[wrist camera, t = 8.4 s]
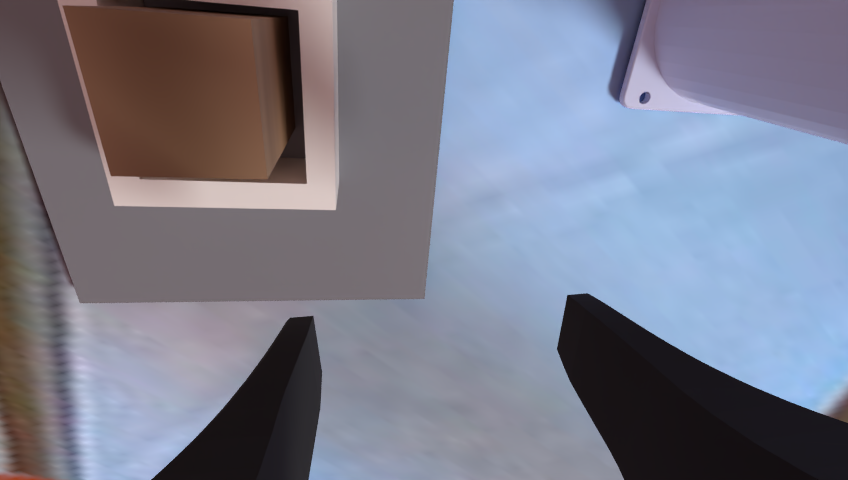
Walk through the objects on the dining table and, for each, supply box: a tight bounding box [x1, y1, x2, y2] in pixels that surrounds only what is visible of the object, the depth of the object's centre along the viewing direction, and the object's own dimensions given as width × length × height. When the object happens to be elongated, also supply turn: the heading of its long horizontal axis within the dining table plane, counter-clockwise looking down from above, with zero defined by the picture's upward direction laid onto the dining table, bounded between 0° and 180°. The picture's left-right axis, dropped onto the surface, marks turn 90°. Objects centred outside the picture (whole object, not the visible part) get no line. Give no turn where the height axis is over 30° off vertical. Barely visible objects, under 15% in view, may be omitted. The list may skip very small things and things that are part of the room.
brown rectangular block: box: [62, 5, 295, 179], centre depth 13 cm, size 4×4×6 cm
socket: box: [0, 0, 454, 303], centre depth 15 cm, size 16×20×4 cm
